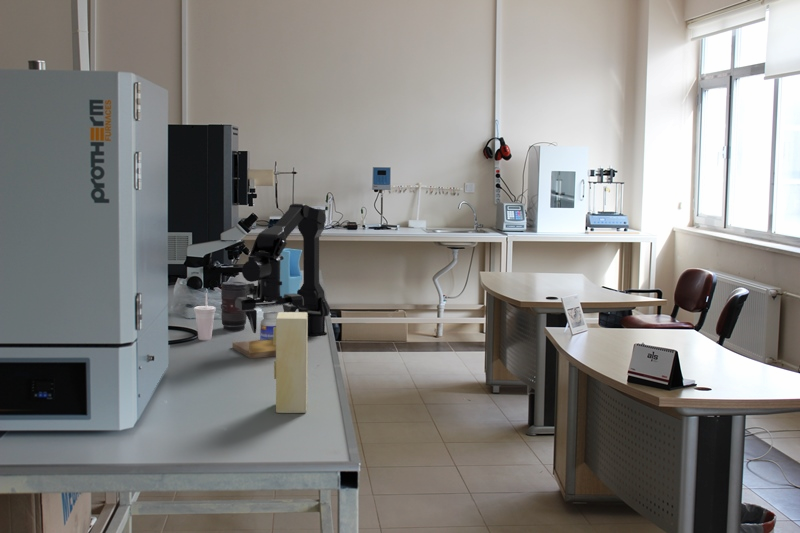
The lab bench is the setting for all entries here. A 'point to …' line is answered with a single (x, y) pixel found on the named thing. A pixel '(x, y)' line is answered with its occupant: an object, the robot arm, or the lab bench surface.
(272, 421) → the lab bench surface
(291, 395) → the toy refrigerator
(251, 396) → the lab bench surface
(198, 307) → the smoothie
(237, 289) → the camera lens
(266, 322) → the pill bottle
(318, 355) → the lab bench surface
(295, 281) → the vase
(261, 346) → the shelf board
